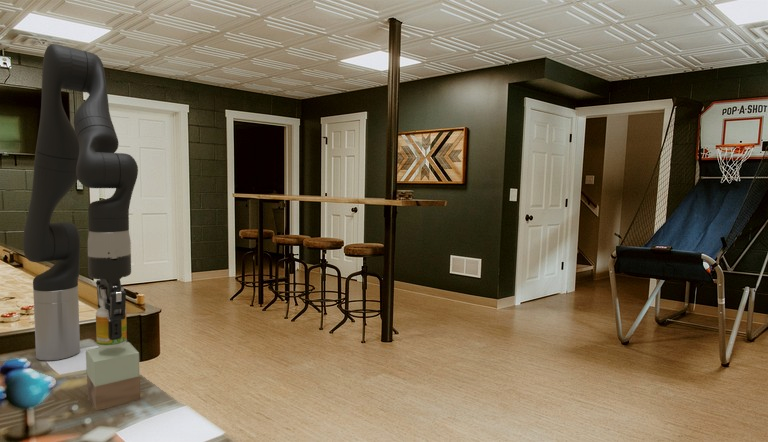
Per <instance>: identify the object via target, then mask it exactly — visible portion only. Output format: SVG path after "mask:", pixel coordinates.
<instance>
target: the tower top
mask: <svg viewBox="0 0 768 442" xmlns="http://www.w3.org/2000/svg"><path fill="white" fill-rule="evenodd" d="M85 361H86V363H85V364H86V367H85V369H86V376H87V375H88V377H89V378H90V380H91V381H92V383H93V385H94V386H95V387H96V386H100V385H105V384H109V383H113V382H117V381H122V380H126V379H130V378H135V377H139V376H140V352H139V351H138V350H137V349H136V347H134V346H133V345H132V343H131V342H129V341H126V343H125V344H123V345H121V346H118V347H113V348H101V347H94V348H88V349H85Z"/></svg>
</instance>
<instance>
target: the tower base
mask: <svg viewBox="0 0 768 442" xmlns="http://www.w3.org/2000/svg"><path fill="white" fill-rule="evenodd" d="M86 382H87V384H86V389H87V390H86V391H87V397H88V400H89V401H90V403H91V404H92V406H93V408H94V410H95V411H96V412H97V411H100V410H104V409H108V408H111V407H116V406H119V405H123V404H128V403H131V402H135V401H139V400H141V376H140V375H139V377H135V378H130V379H126V380H122V381H117V382H113V383H109V384H105V385H100V386H96V387H95V386H94V385H93V383H92V381H91V380H90V378H89V377H88V375H87V374H86Z"/></svg>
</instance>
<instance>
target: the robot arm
mask: <svg viewBox="0 0 768 442" xmlns="http://www.w3.org/2000/svg"><path fill="white" fill-rule="evenodd" d="M105 73H106V72H105V68H104V63H103V61H102V59H101V58H100V57H99V55H97V54H95V53H93V52H91V51H87V50H82V49H79V48H78V49H77V48H73V47H71V46H70V47H69V46H66V45H61V44H57V43H50V44H49V45H47V47H46V49H45V51H44V55H43V61H42V73H41V74H42V75H41V76H42V77H41V80H42V81H41V106H40V117H39V126H38V132H37V140H36V146H35V154H34V162H33V163H34V164H33V177H32V178H33V179H32V187H31V188H32V189H31V195H30V202H29V206H28V210H27V214H26V215H27V216H26V220H25V224H24V229H23V234H22V235H23V236H22V251H23V254H24V257H25V258H26V260H28V261H29V262H31V263H45V262H52V261H55V263H54V264H53V265H52V266H51V267H50V268H49V269H47V270H46V271H43V272H41V273H40V274H38V275H36V276H35V277H34V278H33V280H32V289H33V290H32V291H33V313H34V318H33V319H34V337H35V341H34V342H35V358H36V359H37V360H39V361H46V362H47V361H58V360H64V359H66V358H67V359H68V358H70V357H73V356H75V355H77V354H79V353H80V352H81V345H80V344H81V340H80V338H81V337H80V310H79V309H80V307H79V306H80V305H79V304H80V303H79V302H80V301H79V276H80V272H81V270H80V269H81V268H80V267H81V266H80V263H81V262H80V260H81V238H80V237H81V236H80V233H79V232H80V231H79V230H78V227H77V226H76V225H75V224H74V223H72V222H68V221H66V222H51V220H52V218H53V217H52V216H53V214H54V211H55V210H56V207H57V206H58V204H59V203H60V202H61V201H62V199H64V198H65V196H66V195H67V194H68V193H69V192H70V191H71V190H72V188H73V187H74V186H75V184H76V183H77V181H78V182H79V183H80V184H81V185H82V186H84V187H86V188H88V189H115V191H114V193H113V194H112V196H110V197H108V198H105V199H104V198H103V199H100V200H99V199H98V200H95V201H92V202H90V203H89V205H88V208H87V214H88V215H87V217H88V218H87V220H88V236H87V272H88V273H87V274H88V277H89V278H90V279H94V280H96V282H95V284H96V294H97V308H98V309H99V308H101V306H100V304H99V299H100V298H101V297H102V298H103V307H104V310H105V311H107V316H108V318H107V320H108V336H109V339H110V340H115V339H120V338H121V337H122V326H121V320H123V319H125V308H126V304H127V303H126V302H127V301H126V300H127V299H126V298H127V291H126V290H124V287H125V286H124V285H122V284H121V279H122V278H126V277H129V276H131V274H132V251H131V250H132V245H131V244H132V242H131V241H132V240H131V235H130V220H129V219H130V217H129V216H130V205H131V199H132V195H133V191H134V188H135V186H136V182H137V179H138V173H139V167H138V164H137V161H136V160H135V158H134V157H133V156H132V155H131V154H128V153H121V152H116V151H117V150H118V148H119V139H118V136H117V133H116V129H115V127H114V124H113V121H112V118H111V113H110V109H109V107H110V106H109V97H108V96H109V95H108V87H107V80H106V74H105ZM62 90H69V91H74V92H78V93H87V94H88V97H87V98H86V99H85V101H83V102H82V103H81V105H80V106H79V107H78V108H77V110H76V111H75V113H74V116H73V125H72V123H71V122H70V120H69V118H68V115H67V114H66V111H65V108H64V104H63V102H62V100H63V99H62ZM107 303H108V304H110V305H108V304H107ZM115 310H118V314H114V311H115Z"/></svg>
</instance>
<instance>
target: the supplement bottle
mask: <svg viewBox="0 0 768 442" xmlns="http://www.w3.org/2000/svg"><path fill="white" fill-rule="evenodd" d="M99 304H100V306H101V308H98V309H96V311H95V329H96V332H95V333H96V346H97V348H99V347H101V348H113V347H118V346H121V345H123V344H125V343H126V342H128V339H127V338H128V337H127V335H128V334H127V332H128V331H127V328H128V327H127V326H128V325H127V309H126V307H125V319H123V320H121V326H122V337H121V338H120V339H115V340H110V339H109V336H108V320H107V318H108V316H107V311H105V310H104V307H103V298H102V297H101V298H100V299H99ZM107 304H108V303H107ZM108 305H110V304H108ZM114 314H118V310H115V311H114Z"/></svg>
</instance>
